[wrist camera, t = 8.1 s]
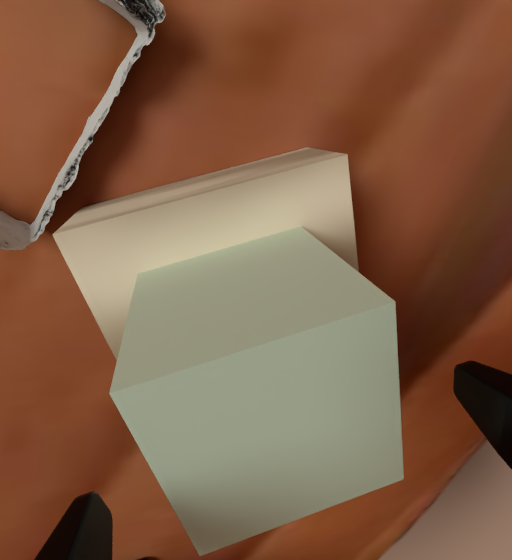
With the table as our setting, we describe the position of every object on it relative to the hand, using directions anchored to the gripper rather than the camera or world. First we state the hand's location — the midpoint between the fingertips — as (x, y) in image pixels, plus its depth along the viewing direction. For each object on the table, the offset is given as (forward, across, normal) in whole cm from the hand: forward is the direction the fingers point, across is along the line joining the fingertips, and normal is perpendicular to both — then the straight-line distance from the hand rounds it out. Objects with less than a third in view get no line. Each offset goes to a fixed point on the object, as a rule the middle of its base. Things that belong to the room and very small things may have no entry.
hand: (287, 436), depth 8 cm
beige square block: (+10, 0, 0) cm, 10 cm away
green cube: (+6, 0, 0) cm, 6 cm away
